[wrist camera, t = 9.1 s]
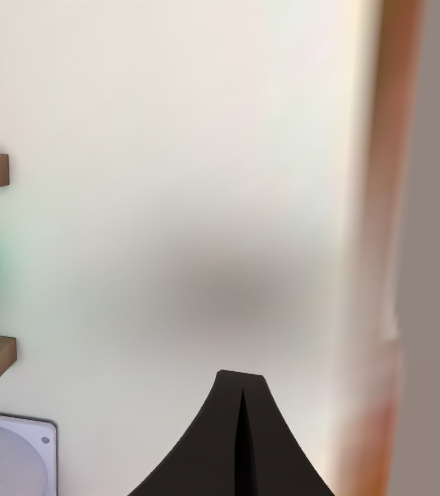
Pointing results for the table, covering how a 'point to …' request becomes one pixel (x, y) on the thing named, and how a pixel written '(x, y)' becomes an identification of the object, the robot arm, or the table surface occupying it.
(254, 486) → the robot arm
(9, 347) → the brown wooden angled piece
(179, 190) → the table surface
